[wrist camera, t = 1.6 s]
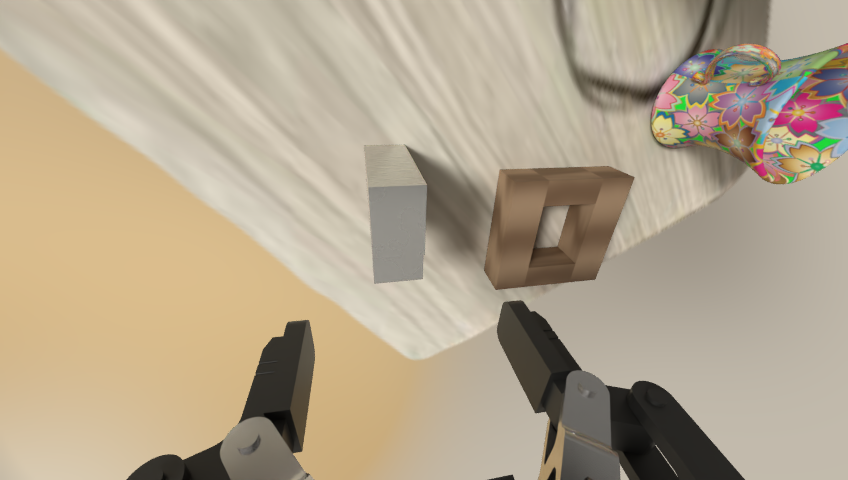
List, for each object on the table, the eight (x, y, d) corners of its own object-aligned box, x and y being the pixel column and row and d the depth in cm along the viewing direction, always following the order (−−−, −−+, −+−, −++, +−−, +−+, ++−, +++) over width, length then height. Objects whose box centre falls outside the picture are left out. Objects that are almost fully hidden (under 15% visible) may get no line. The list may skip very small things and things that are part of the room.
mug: (746, 86, 30) (909, 98, 21) (668, 165, 33) (783, 205, 24) (692, -5, 25) (877, -39, 16) (606, 98, 28) (723, 117, 19)
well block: (499, 169, 30) (515, 182, 27) (608, 166, 32) (634, 177, 29) (484, 270, 36) (495, 289, 33) (576, 262, 38) (595, 279, 35)
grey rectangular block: (364, 145, 26) (368, 187, 18) (404, 144, 27) (427, 184, 19) (369, 222, 30) (374, 287, 22) (404, 220, 31) (423, 282, 22)
